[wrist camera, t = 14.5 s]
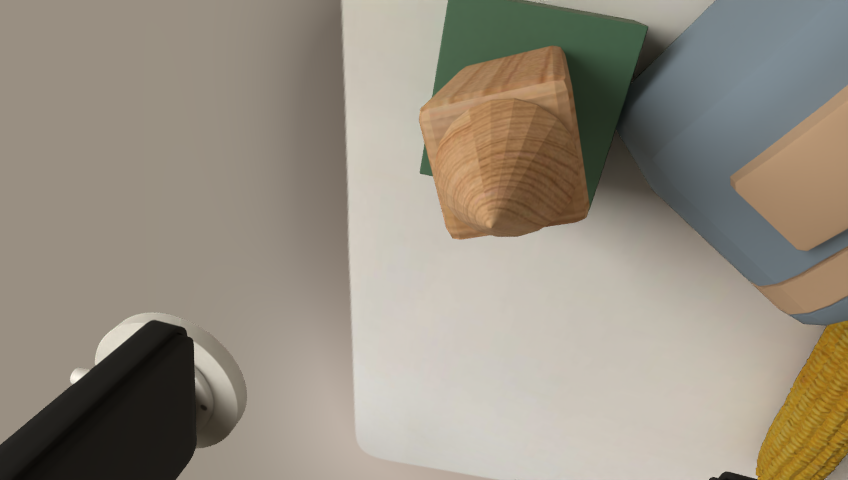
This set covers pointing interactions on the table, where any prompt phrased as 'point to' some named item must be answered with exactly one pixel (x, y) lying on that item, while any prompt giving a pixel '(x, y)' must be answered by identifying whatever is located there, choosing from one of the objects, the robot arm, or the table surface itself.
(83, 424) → the robot arm
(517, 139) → the decorative item
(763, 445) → the food
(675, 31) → the table surface
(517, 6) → the green block
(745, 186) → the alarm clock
